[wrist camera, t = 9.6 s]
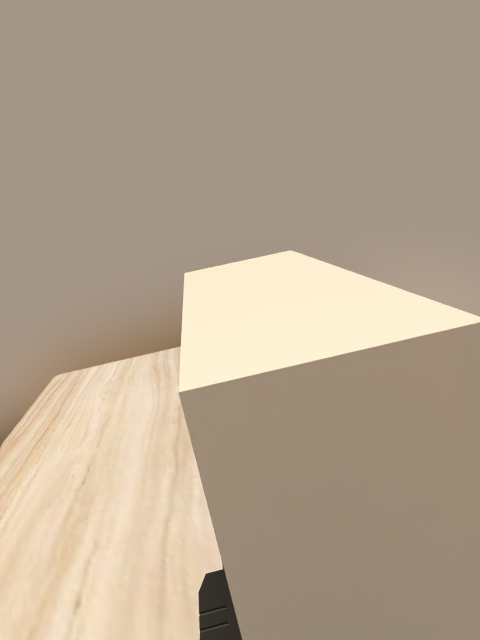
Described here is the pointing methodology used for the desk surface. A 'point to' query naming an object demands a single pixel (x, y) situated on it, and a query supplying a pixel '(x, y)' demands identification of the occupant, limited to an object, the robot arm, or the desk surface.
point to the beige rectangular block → (335, 450)
